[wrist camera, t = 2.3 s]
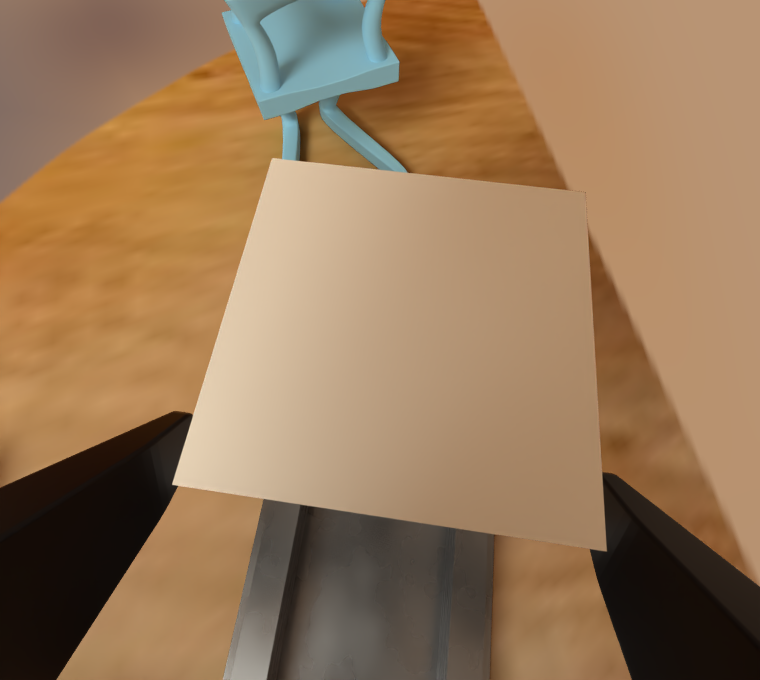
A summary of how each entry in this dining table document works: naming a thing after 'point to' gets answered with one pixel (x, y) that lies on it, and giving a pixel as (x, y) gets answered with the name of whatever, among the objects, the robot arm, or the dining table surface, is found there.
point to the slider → (409, 356)
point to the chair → (313, 63)
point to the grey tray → (362, 599)
